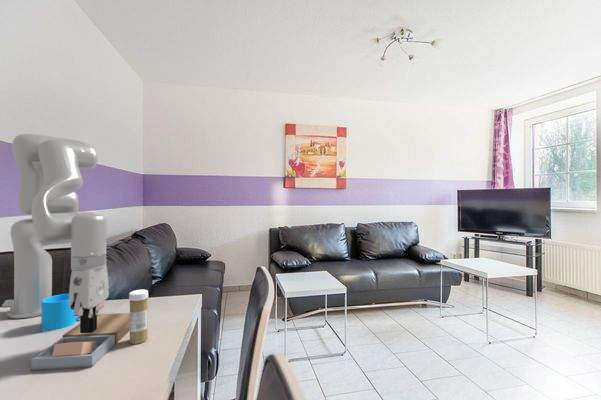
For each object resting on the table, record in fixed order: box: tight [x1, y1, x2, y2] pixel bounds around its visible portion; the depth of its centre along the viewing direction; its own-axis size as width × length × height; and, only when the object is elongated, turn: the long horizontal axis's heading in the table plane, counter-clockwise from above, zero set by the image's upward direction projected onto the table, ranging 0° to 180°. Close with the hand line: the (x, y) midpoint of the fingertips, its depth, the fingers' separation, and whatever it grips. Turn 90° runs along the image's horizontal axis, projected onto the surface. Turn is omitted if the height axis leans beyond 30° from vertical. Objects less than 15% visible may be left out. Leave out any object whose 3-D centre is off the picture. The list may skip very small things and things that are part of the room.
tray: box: [30, 335, 116, 372], centre depth 72 cm, size 13×11×3 cm
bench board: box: [62, 312, 130, 345], centre depth 84 cm, size 13×14×3 cm
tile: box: [52, 341, 96, 356], centre depth 71 cm, size 6×6×2 cm
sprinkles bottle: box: [128, 289, 149, 345], centre depth 80 cm, size 5×5×14 cm
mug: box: [40, 293, 80, 332], centre depth 91 cm, size 12×8×8 cm
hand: (88, 331), depth 77 cm, fingers closed
